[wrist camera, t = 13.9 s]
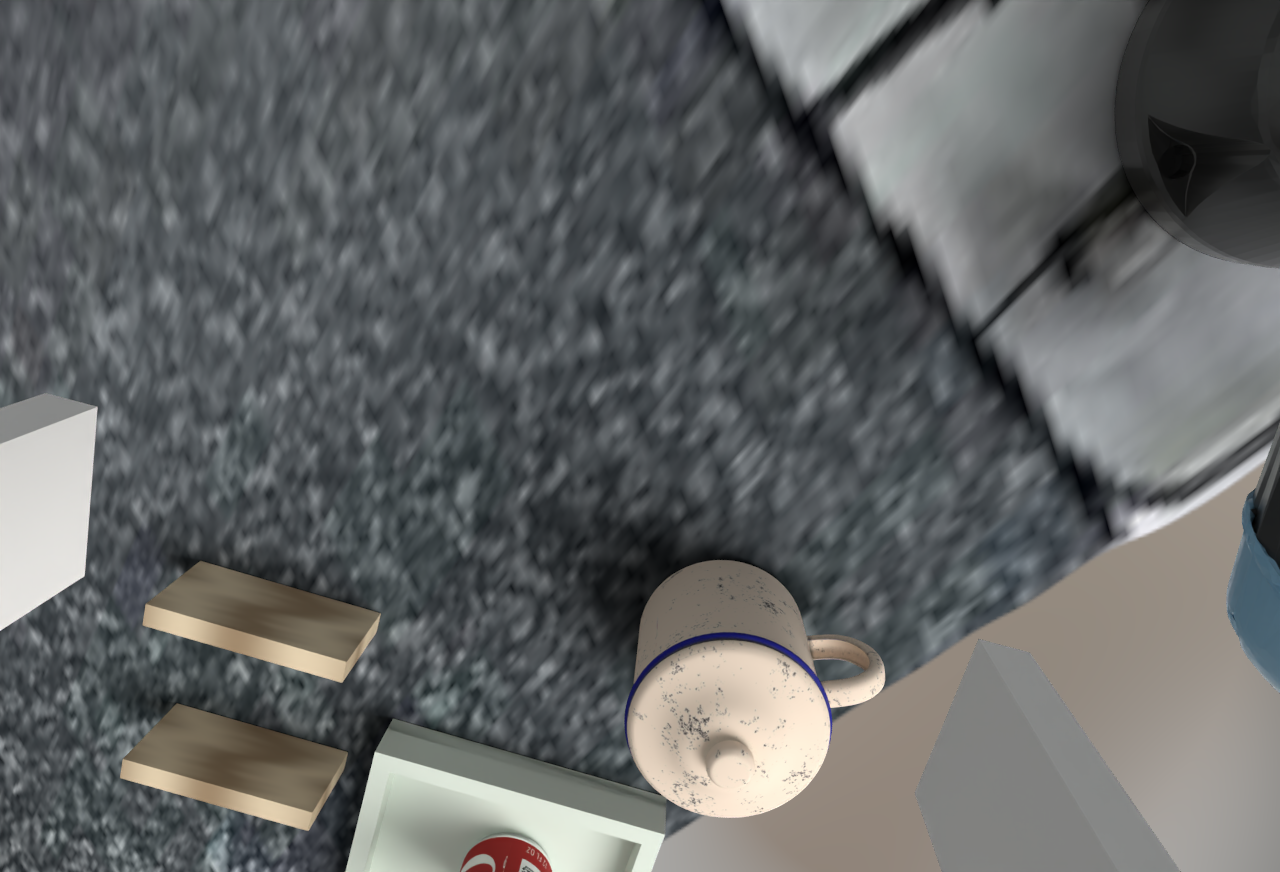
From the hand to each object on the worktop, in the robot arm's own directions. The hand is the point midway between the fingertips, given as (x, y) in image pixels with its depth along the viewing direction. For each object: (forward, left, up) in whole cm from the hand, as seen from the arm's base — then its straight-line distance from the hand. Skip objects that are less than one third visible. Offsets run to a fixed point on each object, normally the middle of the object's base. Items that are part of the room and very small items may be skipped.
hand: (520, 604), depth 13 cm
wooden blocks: (+14, +25, -31) cm, 42 cm away
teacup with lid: (-10, +15, -31) cm, 36 cm away
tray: (-1, +33, -31) cm, 45 cm away
